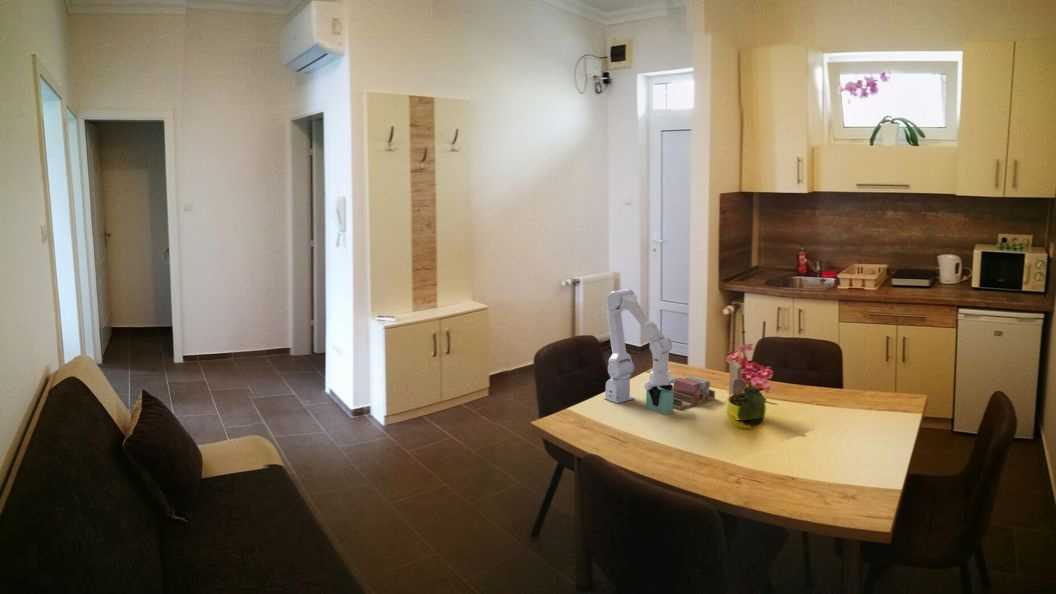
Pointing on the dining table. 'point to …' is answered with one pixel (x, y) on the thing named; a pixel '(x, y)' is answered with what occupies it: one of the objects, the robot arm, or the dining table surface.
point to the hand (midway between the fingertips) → (659, 404)
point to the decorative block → (736, 379)
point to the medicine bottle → (652, 376)
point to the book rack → (691, 392)
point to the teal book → (661, 401)
